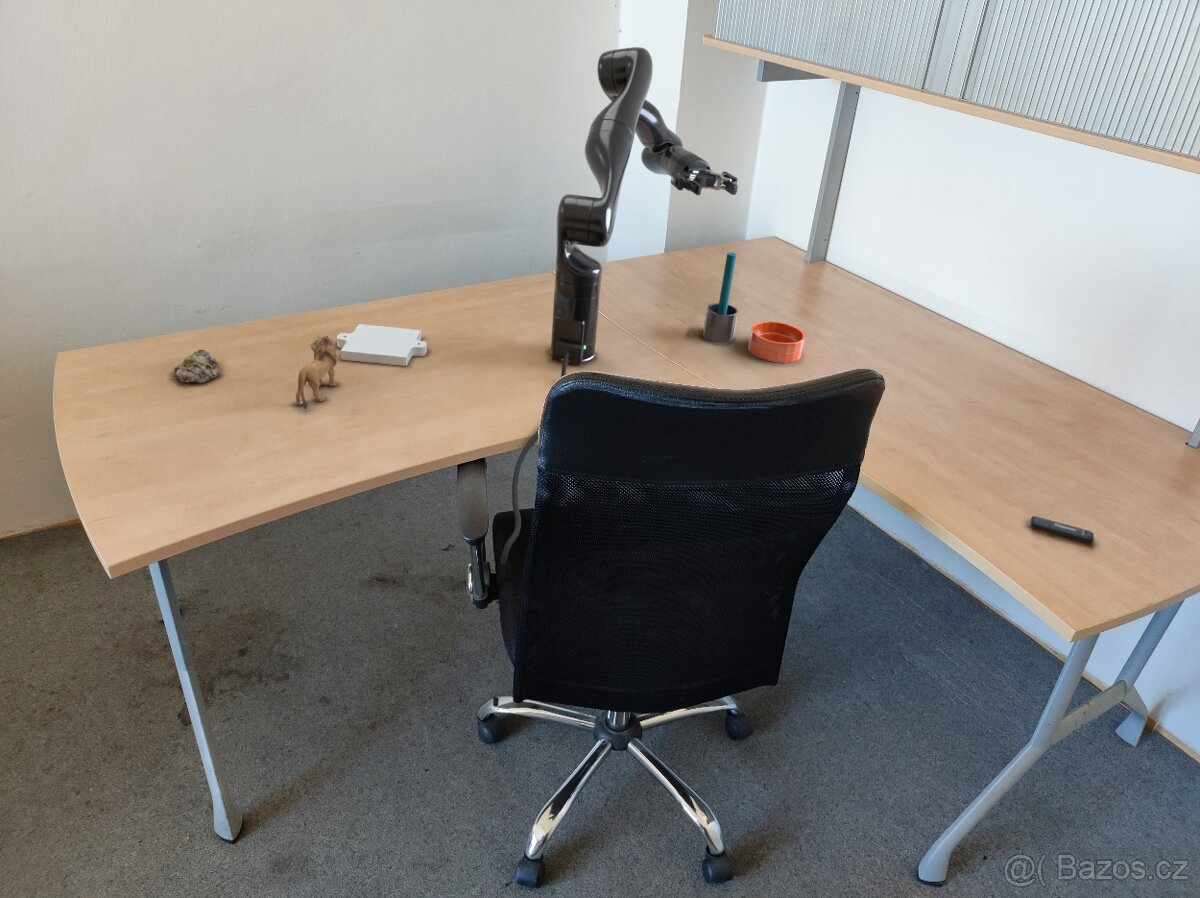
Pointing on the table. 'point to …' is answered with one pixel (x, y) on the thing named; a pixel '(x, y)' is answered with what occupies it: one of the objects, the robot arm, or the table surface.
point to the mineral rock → (197, 368)
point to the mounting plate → (381, 345)
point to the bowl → (776, 341)
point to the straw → (726, 283)
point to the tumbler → (720, 324)
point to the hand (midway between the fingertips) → (717, 190)
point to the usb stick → (1062, 529)
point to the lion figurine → (317, 368)
